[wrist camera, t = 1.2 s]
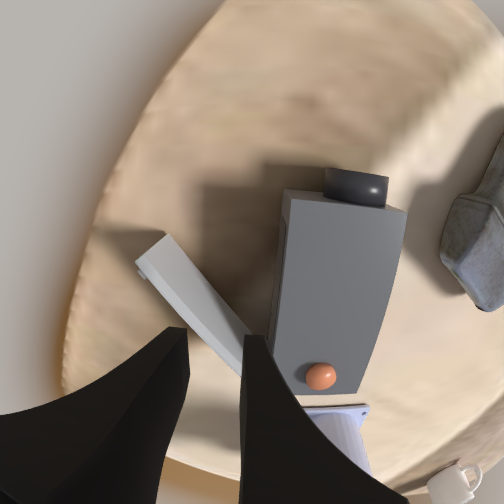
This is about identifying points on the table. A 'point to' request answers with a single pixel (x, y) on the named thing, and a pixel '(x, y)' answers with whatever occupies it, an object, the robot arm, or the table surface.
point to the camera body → (333, 280)
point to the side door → (195, 300)
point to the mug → (453, 485)
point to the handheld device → (479, 238)
